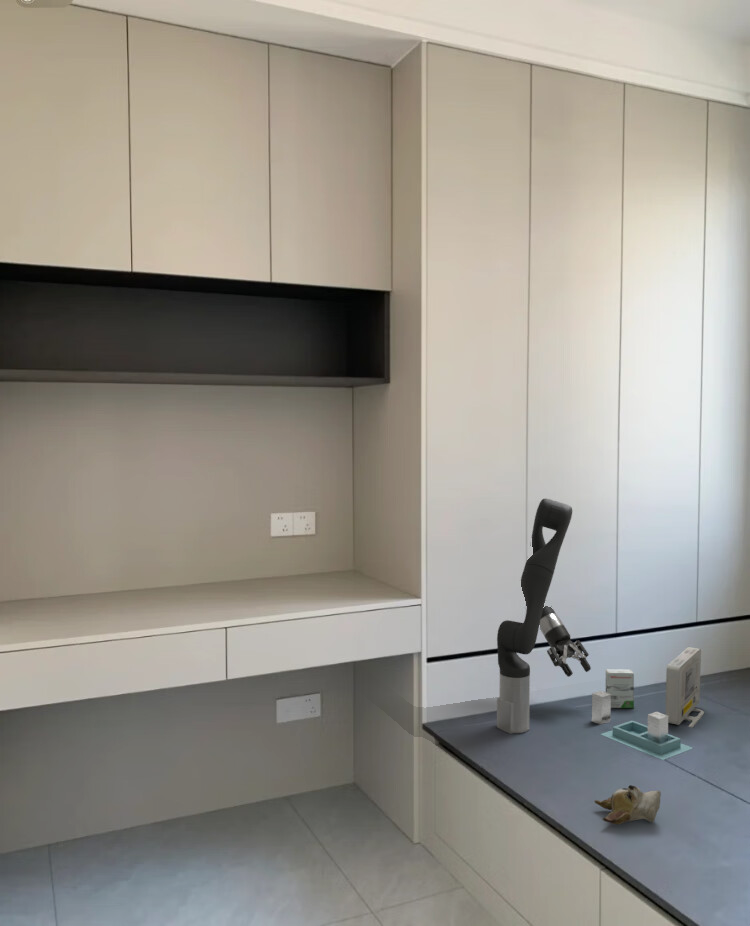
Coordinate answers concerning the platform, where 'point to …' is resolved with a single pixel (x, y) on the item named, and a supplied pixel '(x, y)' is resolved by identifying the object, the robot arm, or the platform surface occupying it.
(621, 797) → the ceramic sculpture
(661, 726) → the block
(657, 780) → the platform surface
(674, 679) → the network device
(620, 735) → the teal flat tray
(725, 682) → the platform surface
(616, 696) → the ink box
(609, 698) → the block
